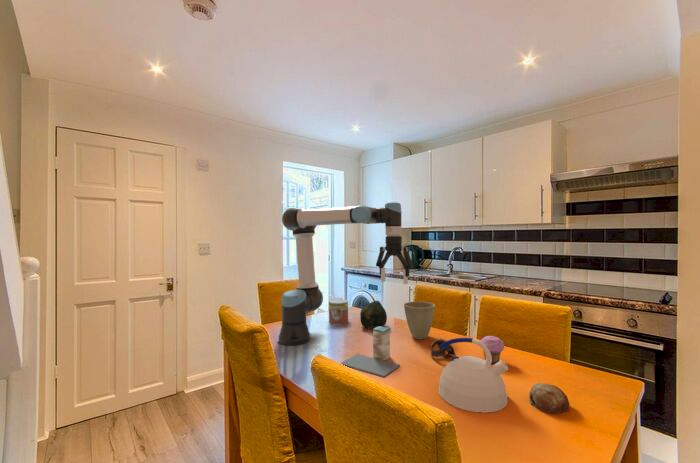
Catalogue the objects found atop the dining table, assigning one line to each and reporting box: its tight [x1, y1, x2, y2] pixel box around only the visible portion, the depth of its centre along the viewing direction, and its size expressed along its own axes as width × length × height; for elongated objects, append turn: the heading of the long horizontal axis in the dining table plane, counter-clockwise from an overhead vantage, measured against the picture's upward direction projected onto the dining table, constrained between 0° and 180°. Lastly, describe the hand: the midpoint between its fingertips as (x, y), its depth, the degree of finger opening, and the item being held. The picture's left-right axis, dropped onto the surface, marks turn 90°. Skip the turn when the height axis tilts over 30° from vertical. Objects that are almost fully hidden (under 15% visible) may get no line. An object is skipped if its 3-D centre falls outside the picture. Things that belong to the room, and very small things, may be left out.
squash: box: [359, 300, 388, 329], centre depth 175 cm, size 14×15×15 cm
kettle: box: [438, 337, 509, 414], centre depth 101 cm, size 20×21×18 cm
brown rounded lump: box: [529, 382, 570, 415], centre depth 95 cm, size 10×10×8 cm
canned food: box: [328, 298, 349, 326], centre depth 186 cm, size 11×11×12 cm
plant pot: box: [403, 301, 436, 340], centre depth 157 cm, size 15×15×16 cm
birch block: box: [372, 326, 391, 361], centre depth 132 cm, size 5×5×12 cm
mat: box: [340, 353, 401, 378], centre depth 125 cm, size 20×12×1 cm, turn 54°
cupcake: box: [479, 335, 505, 364], centre depth 126 cm, size 9×9×10 cm
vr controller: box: [430, 338, 457, 359], centre depth 132 cm, size 12×10×8 cm
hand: (394, 282), depth 149 cm, fingers open, 11 cm apart
